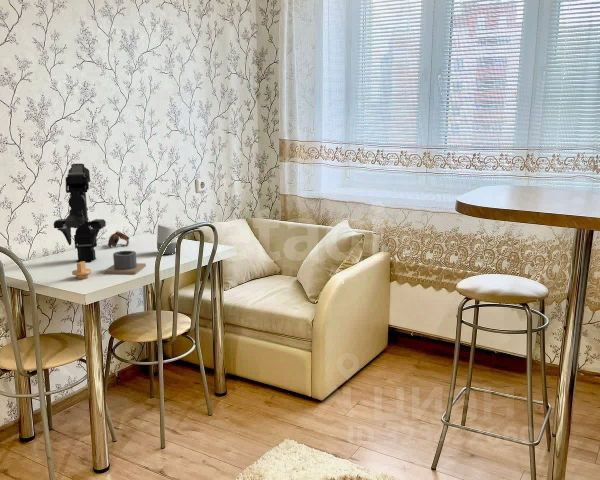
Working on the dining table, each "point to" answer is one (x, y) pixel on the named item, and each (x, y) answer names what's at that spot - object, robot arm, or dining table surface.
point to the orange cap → (81, 271)
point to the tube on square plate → (125, 263)
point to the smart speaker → (162, 236)
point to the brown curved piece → (117, 239)
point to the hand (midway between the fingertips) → (81, 245)
